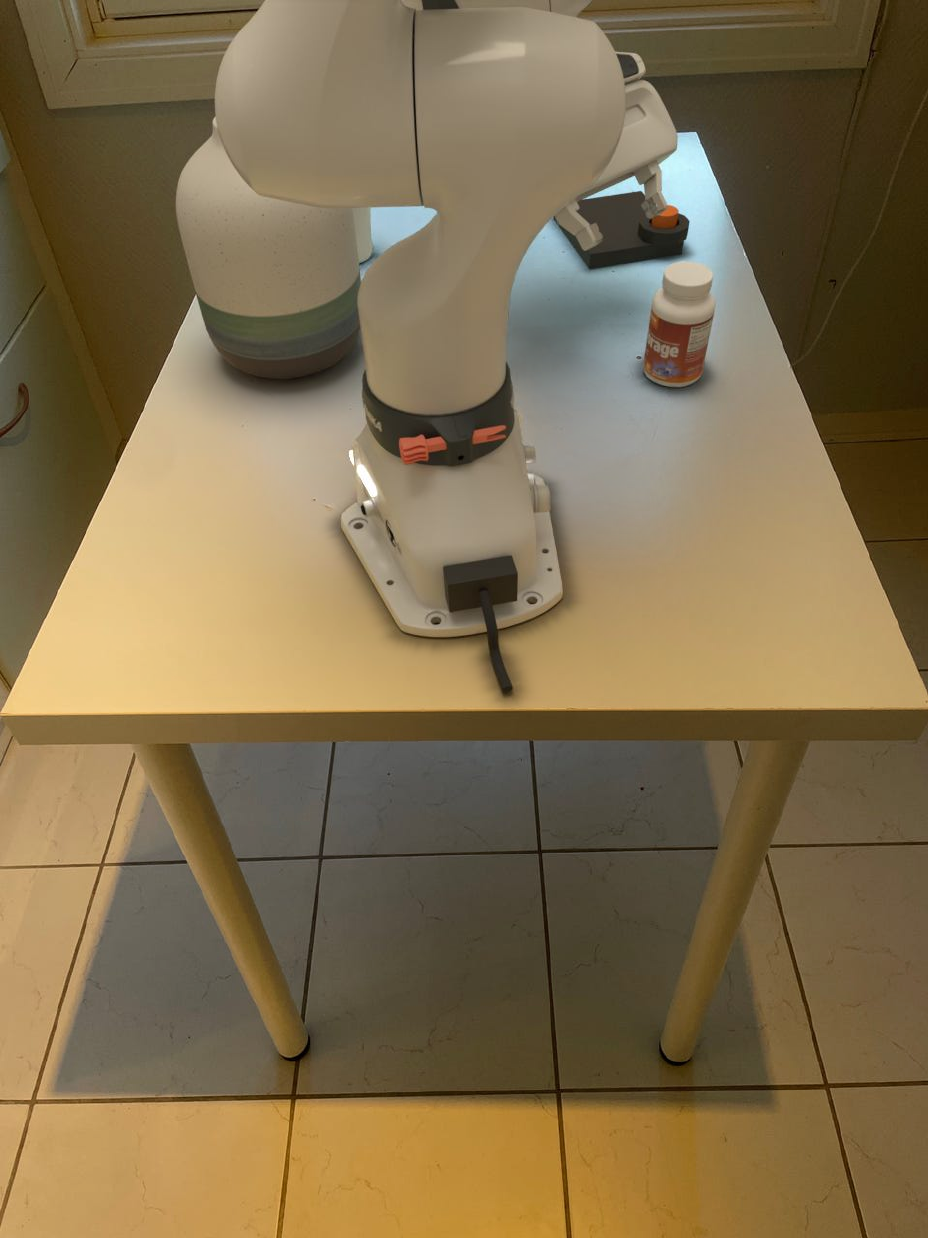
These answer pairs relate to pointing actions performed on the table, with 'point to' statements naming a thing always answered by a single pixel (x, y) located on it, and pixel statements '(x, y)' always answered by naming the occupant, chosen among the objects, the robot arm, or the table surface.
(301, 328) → the vase
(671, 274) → the pill bottle
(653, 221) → the button
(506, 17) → the robot arm
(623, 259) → the scale
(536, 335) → the table surface
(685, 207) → the table surface
